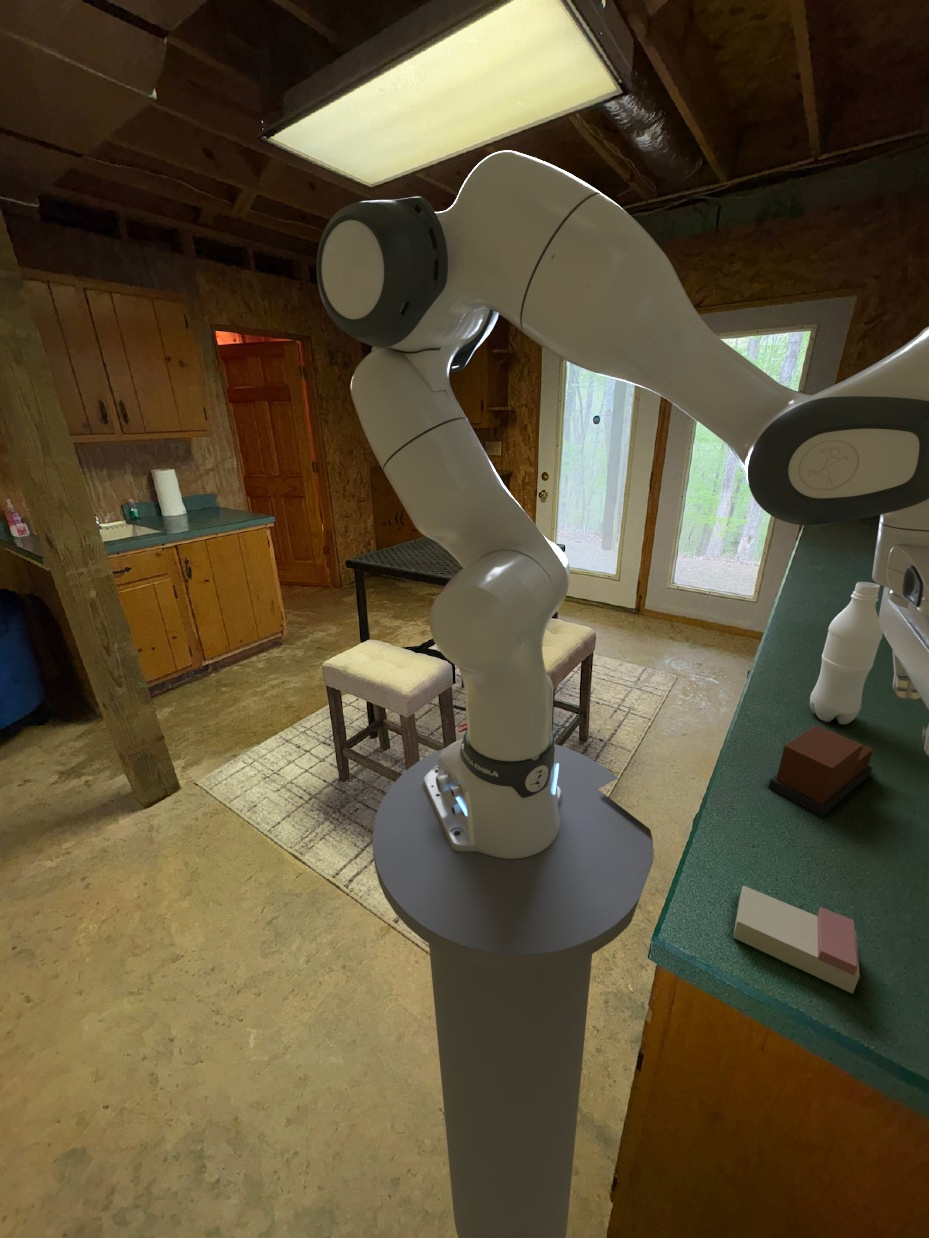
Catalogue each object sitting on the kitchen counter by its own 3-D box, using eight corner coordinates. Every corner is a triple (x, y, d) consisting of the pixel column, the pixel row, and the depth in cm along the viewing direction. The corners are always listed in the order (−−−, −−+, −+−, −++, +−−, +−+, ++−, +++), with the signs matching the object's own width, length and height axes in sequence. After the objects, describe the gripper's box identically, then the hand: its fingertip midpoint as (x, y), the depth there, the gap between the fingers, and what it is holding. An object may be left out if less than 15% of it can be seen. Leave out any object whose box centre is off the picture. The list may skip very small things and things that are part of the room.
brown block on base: (821, 816, 65) (835, 771, 63) (768, 787, 71) (778, 745, 68) (870, 774, 73) (884, 733, 70) (818, 751, 78) (829, 711, 75)
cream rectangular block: (732, 939, 50) (739, 914, 49) (739, 899, 55) (745, 875, 53) (852, 995, 45) (863, 969, 44) (849, 947, 49) (859, 922, 48)
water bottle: (798, 705, 91) (830, 578, 82) (839, 706, 90) (877, 578, 81) (821, 727, 84) (858, 591, 75) (865, 728, 83) (909, 591, 74)
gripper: (870, 534, 46) (852, 665, 50) (934, 599, 29) (899, 787, 34) (961, 531, 43) (934, 672, 47) (1091, 602, 26) (1030, 809, 31)
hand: (920, 721), depth 40 cm, fingers open, 8 cm apart
